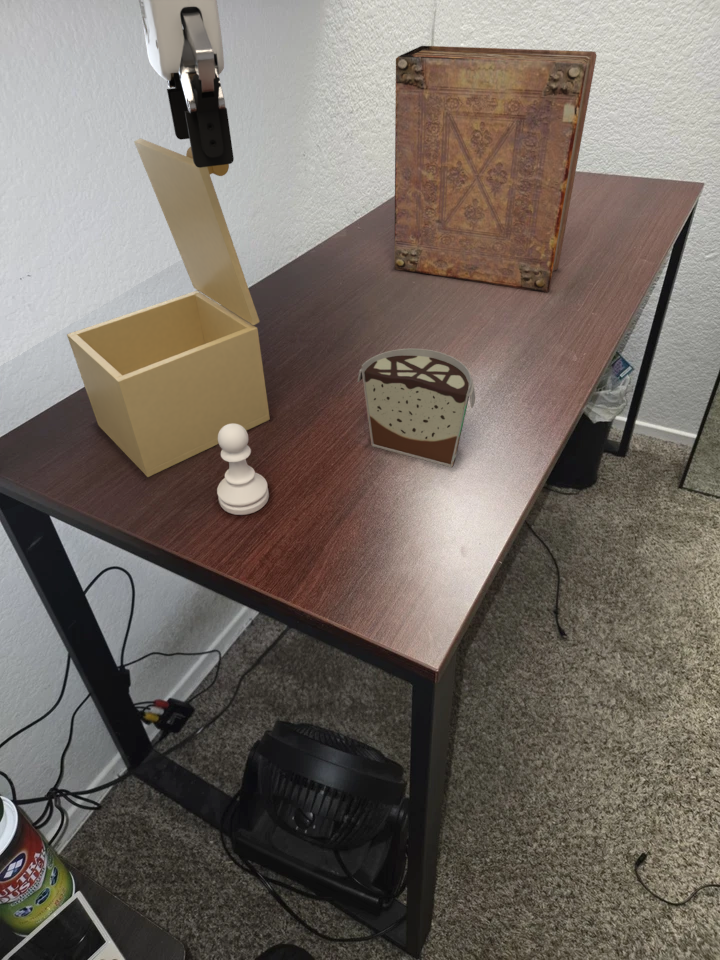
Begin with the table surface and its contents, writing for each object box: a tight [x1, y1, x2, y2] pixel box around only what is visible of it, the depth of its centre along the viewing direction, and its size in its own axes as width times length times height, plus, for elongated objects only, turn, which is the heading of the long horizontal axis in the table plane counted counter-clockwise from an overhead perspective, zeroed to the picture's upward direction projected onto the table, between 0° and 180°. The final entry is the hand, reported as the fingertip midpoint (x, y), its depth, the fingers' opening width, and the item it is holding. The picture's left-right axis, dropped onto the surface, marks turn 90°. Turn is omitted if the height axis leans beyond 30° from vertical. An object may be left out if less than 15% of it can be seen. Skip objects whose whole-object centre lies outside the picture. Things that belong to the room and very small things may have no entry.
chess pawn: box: [216, 423, 270, 516], centre depth 63 cm, size 5×5×9 cm
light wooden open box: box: [66, 290, 271, 478], centre depth 73 cm, size 16×13×12 cm
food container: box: [357, 348, 476, 468], centre depth 70 cm, size 12×6×10 cm, turn 65°
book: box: [393, 45, 598, 294], centre depth 98 cm, size 25×9×30 cm, turn 67°
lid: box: [133, 138, 260, 326], centre depth 67 cm, size 16×13×5 cm
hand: (203, 150), depth 57 cm, fingers open, 9 cm apart
